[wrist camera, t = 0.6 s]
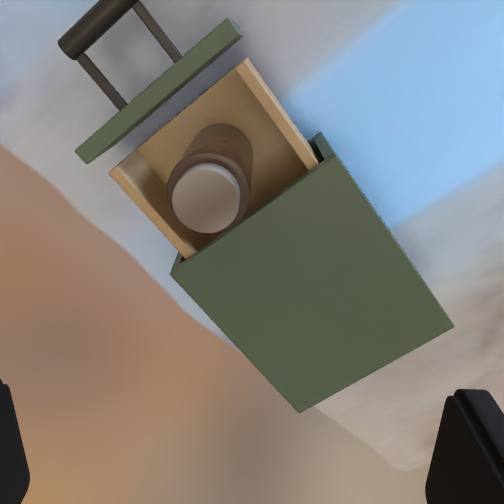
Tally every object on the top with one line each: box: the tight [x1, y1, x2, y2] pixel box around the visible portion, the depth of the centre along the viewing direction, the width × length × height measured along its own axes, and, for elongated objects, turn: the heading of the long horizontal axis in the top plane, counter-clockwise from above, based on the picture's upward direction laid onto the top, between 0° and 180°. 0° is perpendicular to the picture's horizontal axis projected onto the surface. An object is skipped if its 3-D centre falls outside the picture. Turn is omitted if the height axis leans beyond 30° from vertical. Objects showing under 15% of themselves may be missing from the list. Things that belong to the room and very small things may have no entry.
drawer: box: [58, 0, 321, 259], centre depth 35 cm, size 21×13×7 cm, turn 37°
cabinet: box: [170, 132, 454, 413], centre depth 39 cm, size 17×15×9 cm
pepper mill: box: [166, 123, 253, 233], centre depth 32 cm, size 5×5×12 cm
